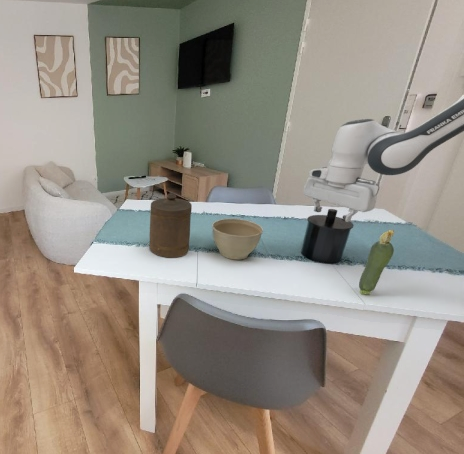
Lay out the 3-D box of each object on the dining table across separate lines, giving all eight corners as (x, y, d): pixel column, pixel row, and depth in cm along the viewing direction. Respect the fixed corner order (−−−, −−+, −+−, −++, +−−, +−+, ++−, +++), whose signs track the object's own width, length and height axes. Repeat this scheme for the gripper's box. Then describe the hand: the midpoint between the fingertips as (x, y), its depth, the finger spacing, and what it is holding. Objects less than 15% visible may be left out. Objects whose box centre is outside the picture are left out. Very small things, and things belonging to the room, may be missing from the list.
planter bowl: (248, 244, 112) (252, 217, 108) (265, 265, 97) (271, 236, 93) (205, 244, 114) (208, 218, 110) (215, 265, 99) (219, 236, 95)
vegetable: (354, 287, 84) (377, 223, 76) (374, 291, 82) (399, 226, 74) (357, 295, 81) (381, 230, 73) (377, 299, 79) (404, 233, 71)
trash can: (349, 259, 98) (360, 226, 93) (324, 266, 95) (334, 232, 90) (316, 246, 108) (325, 214, 103) (293, 251, 105) (300, 219, 100)
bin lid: (362, 228, 93) (367, 213, 91) (334, 234, 90) (338, 219, 88) (324, 215, 104) (327, 202, 102) (298, 221, 101) (301, 207, 99)
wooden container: (183, 239, 118) (187, 187, 110) (193, 257, 105) (197, 199, 96) (147, 240, 119) (147, 189, 110) (152, 258, 105) (153, 201, 97)
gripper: (388, 180, 82) (373, 225, 88) (318, 167, 100) (309, 205, 105) (373, 183, 80) (358, 229, 86) (305, 169, 98) (296, 208, 104)
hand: (330, 216), depth 96 cm, fingers open, 8 cm apart
